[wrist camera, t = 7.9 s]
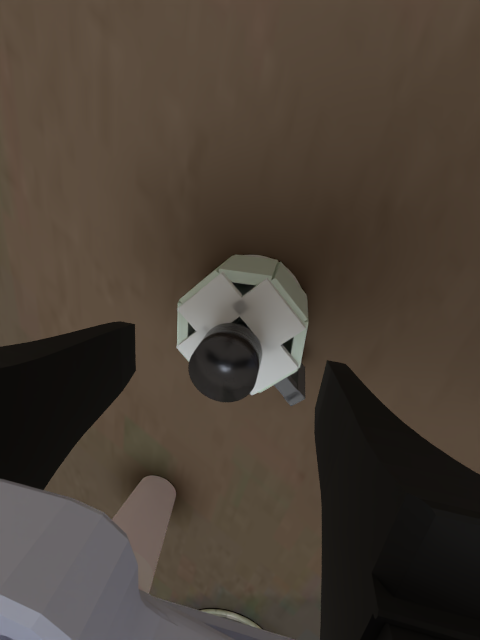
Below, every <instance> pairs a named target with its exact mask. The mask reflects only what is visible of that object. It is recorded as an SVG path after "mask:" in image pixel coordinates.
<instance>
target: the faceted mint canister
mask: <svg viewBox="0 0 480 640" xmlns="http://www.w3.org/2000/svg"><path fill="white" fill-rule="evenodd" d="M232 282H234V283H242V284H249V285H256V286H255V287H254V288H253V289H251V290H250V291H249V292H247V293H246V294H245V295H242V294H241V293H240V292H239V290H238V289H237V288H236V287H235V286H234V284H233V283H232ZM179 300H180V301H179V302H178V309H177V310H178V319H177V348H178V350H179V351H180V352H181V353H182V355H183V356H184V357H185V358H186V359H187V360H188V361H190V358H191V355H192V354H193V352H194V351H195V349H196V348H197V347H198V345H199V344H200V342H201V341H202V339H203V338H204V336H205V335H206V334H207V332H208V331H209V330H210V329H212V328H213V327H215V326H217V325H219V324H223V323H231V322H233V321H234V320H235V319H237V318H238V317H239V316H240V317H241V318H242V320H243V321H244V322H245V323H246V325H247V326H248V327H249V328H250V329H251V331H252V332H253V333H254V334H255V335H256V337H257V338H258V339H259V340H260V344H261V347H262V360H261V364H260V368H259V372H258V376H257V380H256V384H255V386H254V388H253V390H252V391H251V392H250V394H251V395H254V394H257V392H259V393H261V392H262V391H264V390H266V389H268V388H269V387H271V386H273V385H274V386H275V387H276V388H277V389H278V390H279V391H280V393H281V394H282V395H283V396H284V399H285V400H286V401H287V402H288V403H289V405H290V406H292V405H294V404H296V403H298V402H300V401H302V400H303V399H305V367H304V366H303V364H302V363H301V359H302V354H303V349H304V343H305V338H306V333H307V327H308V298H307V295H306V293H305V292H304V291H303V290H302V288H301V286H300V284H299V282H298V280H297V279H296V277H295V276H294V275H293V274H292V272H291V271H290V270H289V269H288V268H286V267H285V266H284V265H283V263H282V262H281V261H280V262H278V260H276V259H272V258H269V257H266V256H261V255H237V254H235V255H234V256H233V255H232V256H231V257H230V258H228V259H227V260H226V261H225V262H224V263H222V264H221V265H220V266H219V267H218V268H216V269H215V270H214V271H213V272H212V273H210V274H209V275H208V276H207V277H205V278H204V279H203V280H202V281H201V282H199V283H198V284H197V285H196V286H195V287H194V288H192V289H191V290H190V291H189V292H188V293H187V294H185V295H184V296H183V297H182V298H181V299H179Z"/></svg>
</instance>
